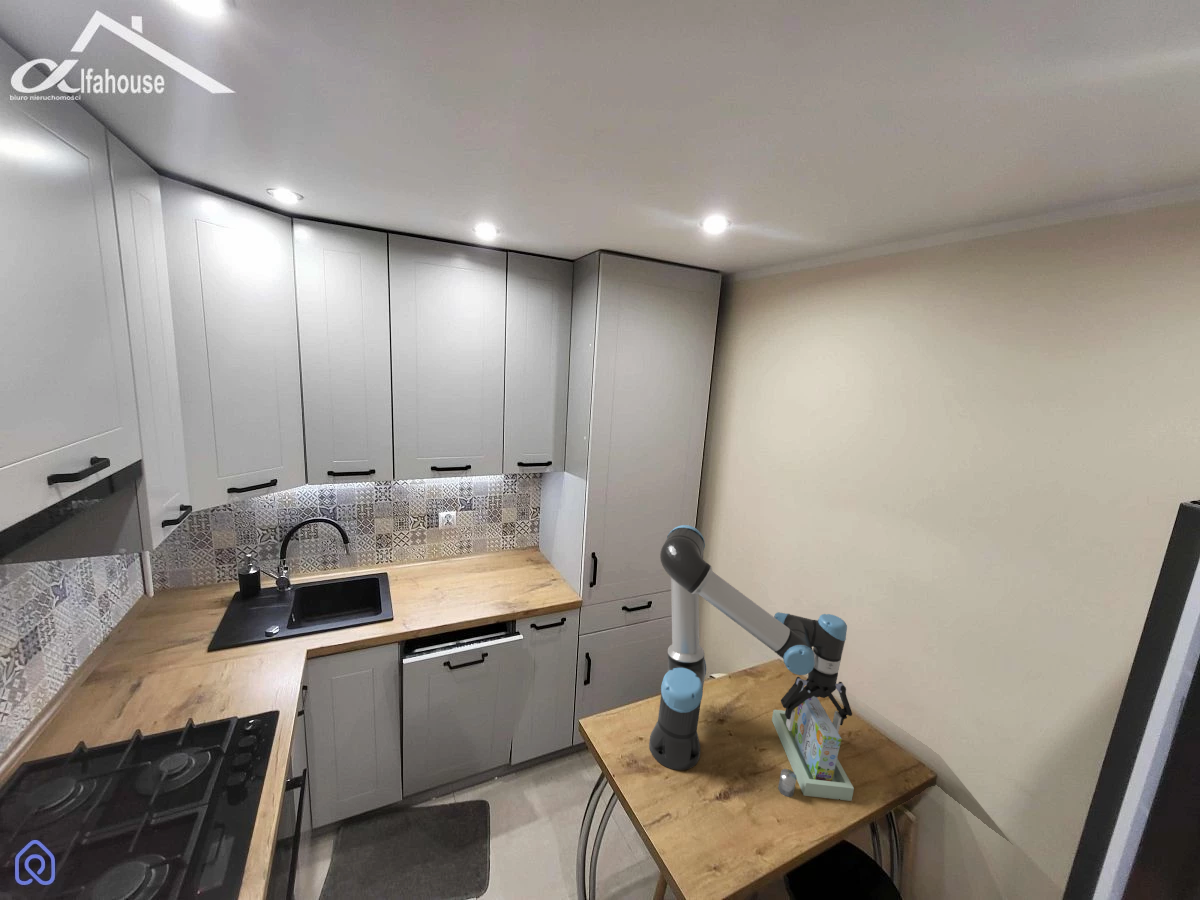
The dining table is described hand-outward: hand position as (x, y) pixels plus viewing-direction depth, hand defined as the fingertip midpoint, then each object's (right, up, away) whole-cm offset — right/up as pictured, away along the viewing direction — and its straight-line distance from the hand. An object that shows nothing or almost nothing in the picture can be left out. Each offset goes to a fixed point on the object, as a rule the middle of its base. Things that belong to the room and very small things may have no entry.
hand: (811, 730), depth 140 cm
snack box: (0, -8, +1) cm, 8 cm away
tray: (0, -9, +2) cm, 9 cm away
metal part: (-12, -10, -11) cm, 19 cm away
